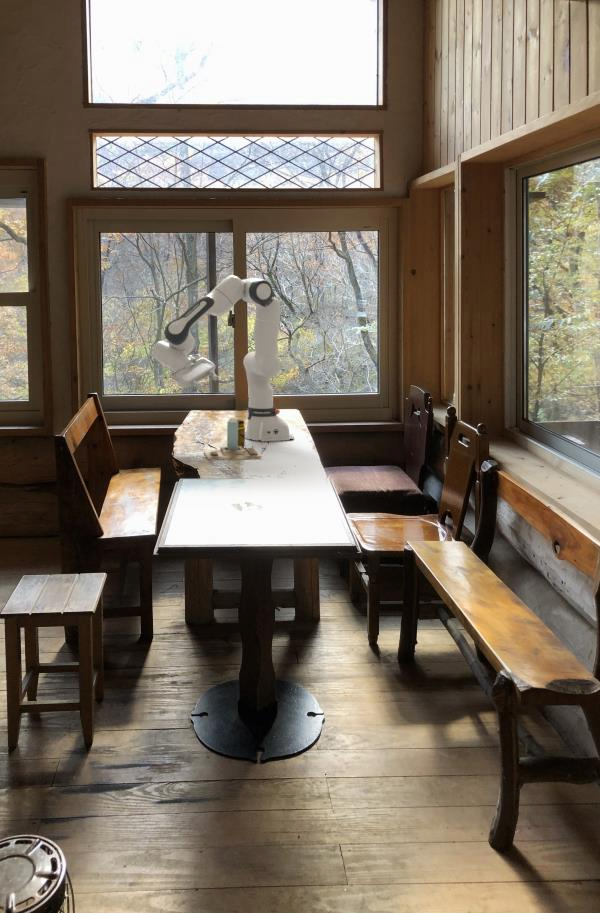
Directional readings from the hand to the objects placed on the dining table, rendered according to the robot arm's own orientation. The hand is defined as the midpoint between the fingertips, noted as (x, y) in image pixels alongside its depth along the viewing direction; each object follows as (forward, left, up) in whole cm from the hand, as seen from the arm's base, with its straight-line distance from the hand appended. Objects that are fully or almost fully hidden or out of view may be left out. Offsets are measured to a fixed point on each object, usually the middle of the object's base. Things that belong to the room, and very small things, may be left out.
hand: (210, 382), depth 384 cm
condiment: (-11, -1, -29) cm, 31 cm away
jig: (-7, +15, -28) cm, 33 cm away
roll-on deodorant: (-7, +15, -27) cm, 32 cm away
